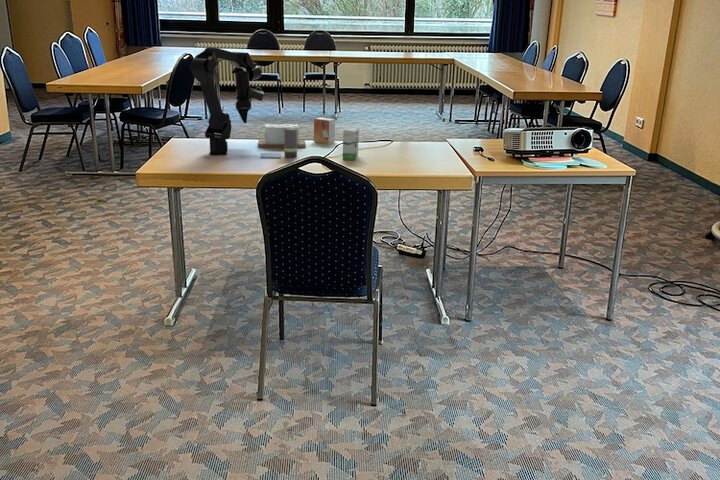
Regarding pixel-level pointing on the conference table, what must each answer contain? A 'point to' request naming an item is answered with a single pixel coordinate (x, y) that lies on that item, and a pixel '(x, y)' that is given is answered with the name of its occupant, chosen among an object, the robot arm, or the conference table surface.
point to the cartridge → (290, 142)
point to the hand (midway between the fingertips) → (245, 120)
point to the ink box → (350, 143)
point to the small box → (324, 130)
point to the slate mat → (270, 155)
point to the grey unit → (278, 136)
